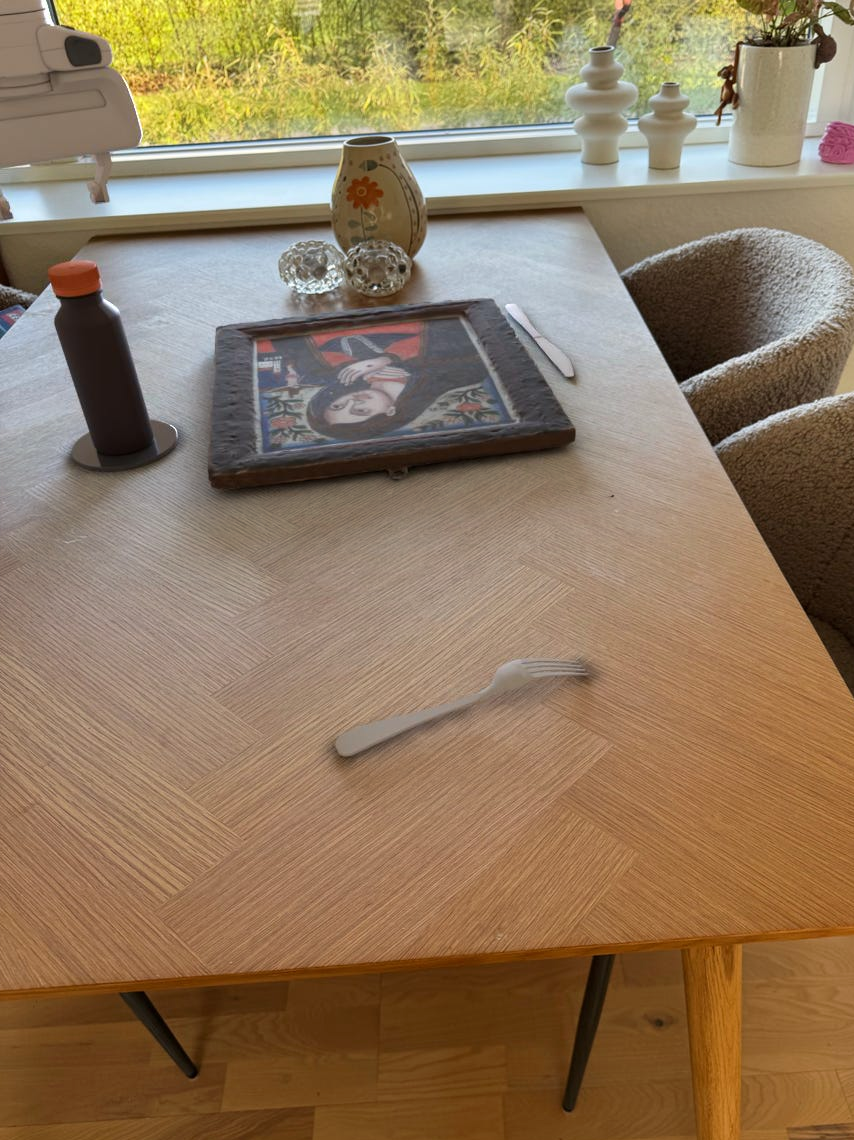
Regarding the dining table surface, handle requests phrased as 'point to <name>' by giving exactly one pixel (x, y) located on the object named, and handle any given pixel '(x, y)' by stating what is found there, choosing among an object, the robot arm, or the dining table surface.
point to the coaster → (98, 461)
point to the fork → (453, 703)
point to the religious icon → (374, 393)
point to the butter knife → (542, 341)
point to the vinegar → (99, 360)
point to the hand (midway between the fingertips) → (53, 210)
